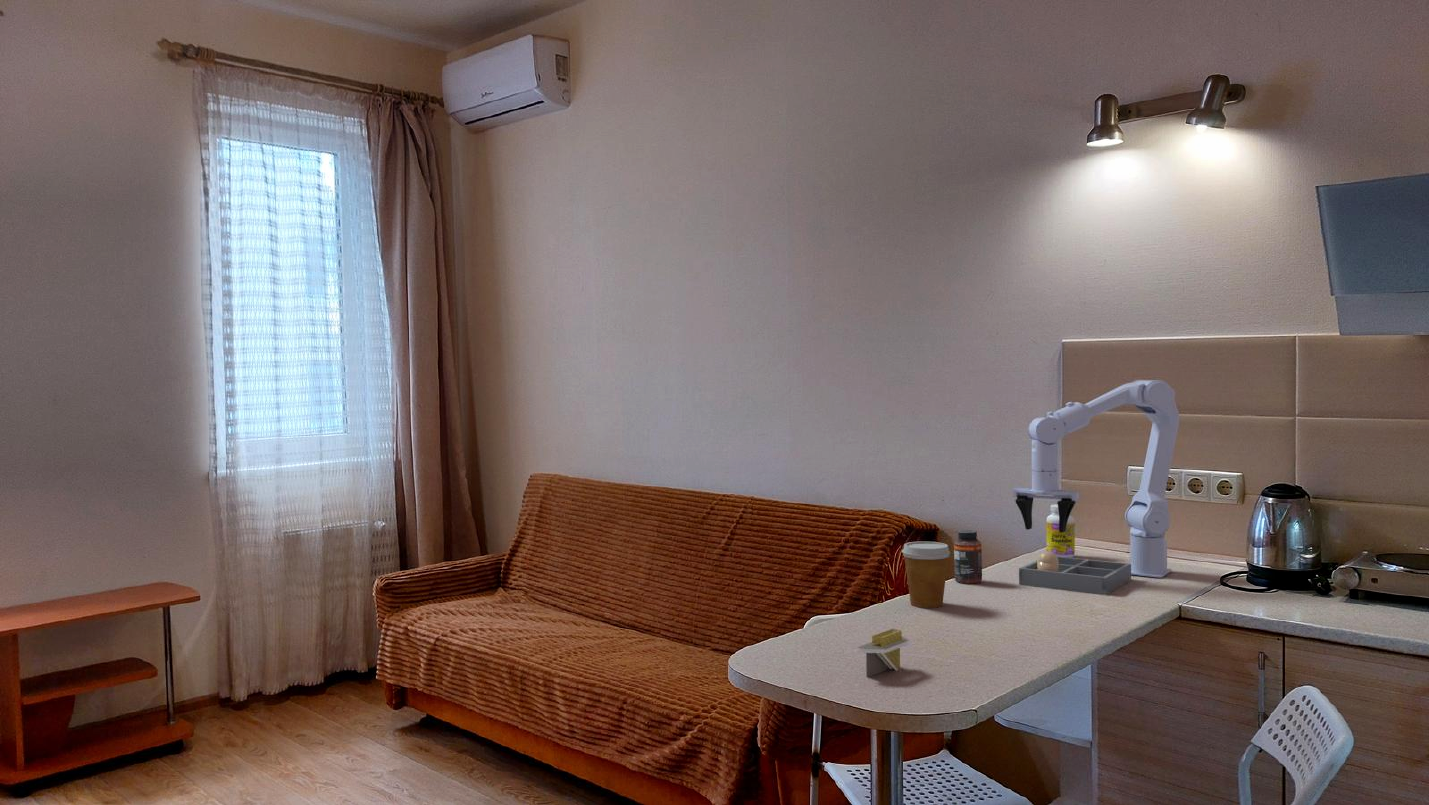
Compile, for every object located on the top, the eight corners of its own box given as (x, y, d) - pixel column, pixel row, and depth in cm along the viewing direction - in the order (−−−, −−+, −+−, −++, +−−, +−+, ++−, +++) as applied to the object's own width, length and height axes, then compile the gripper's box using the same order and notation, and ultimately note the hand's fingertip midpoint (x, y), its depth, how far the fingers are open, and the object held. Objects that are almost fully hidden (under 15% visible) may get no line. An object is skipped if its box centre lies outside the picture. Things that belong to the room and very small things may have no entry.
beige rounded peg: (1041, 574, 219) (1041, 548, 219) (1061, 577, 216) (1061, 550, 216) (1034, 578, 216) (1034, 551, 215) (1054, 580, 213) (1054, 553, 213)
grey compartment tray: (1048, 570, 230) (1048, 555, 230) (1131, 579, 218) (1131, 563, 218) (1019, 584, 215) (1019, 568, 215) (1106, 594, 204) (1106, 578, 204)
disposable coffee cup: (955, 601, 200) (954, 542, 200) (945, 611, 192) (944, 550, 191) (908, 597, 204) (908, 539, 204) (897, 607, 196) (896, 547, 195)
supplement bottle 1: (979, 578, 222) (979, 528, 221) (984, 584, 216) (984, 533, 215) (952, 578, 222) (952, 528, 222) (956, 584, 216) (956, 533, 216)
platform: (950, 669, 156) (950, 628, 156) (885, 697, 143) (884, 653, 143) (887, 655, 164) (886, 616, 164) (820, 680, 151) (819, 638, 151)
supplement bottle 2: (1047, 558, 244) (1047, 507, 243) (1045, 554, 250) (1045, 503, 250) (1076, 559, 242) (1075, 507, 242) (1073, 554, 248) (1073, 504, 248)
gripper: (1007, 470, 224) (1007, 530, 224) (1071, 473, 215) (1071, 535, 215) (1018, 467, 230) (1018, 526, 230) (1081, 470, 221) (1082, 531, 221)
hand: (1045, 530), depth 223 cm, fingers open, 7 cm apart
